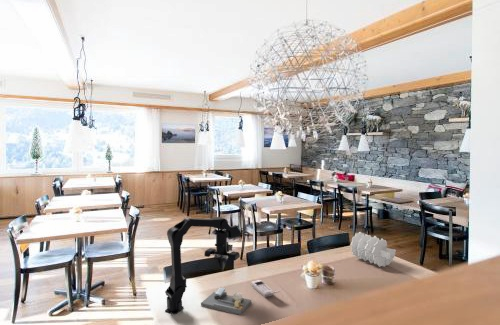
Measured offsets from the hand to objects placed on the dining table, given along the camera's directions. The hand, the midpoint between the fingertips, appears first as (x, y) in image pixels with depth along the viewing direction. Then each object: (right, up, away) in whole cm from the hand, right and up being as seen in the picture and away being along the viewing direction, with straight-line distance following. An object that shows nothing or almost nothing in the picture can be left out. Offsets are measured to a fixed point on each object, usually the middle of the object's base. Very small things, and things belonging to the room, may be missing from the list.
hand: (222, 269), depth 163 cm
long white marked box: (+22, -13, +1) cm, 26 cm away
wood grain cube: (+9, -12, -17) cm, 22 cm away
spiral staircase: (+95, -9, +39) cm, 104 cm away
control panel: (+3, -14, -10) cm, 17 cm away
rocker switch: (0, -9, -6) cm, 11 cm away
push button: (+9, -11, -10) cm, 17 cm away
